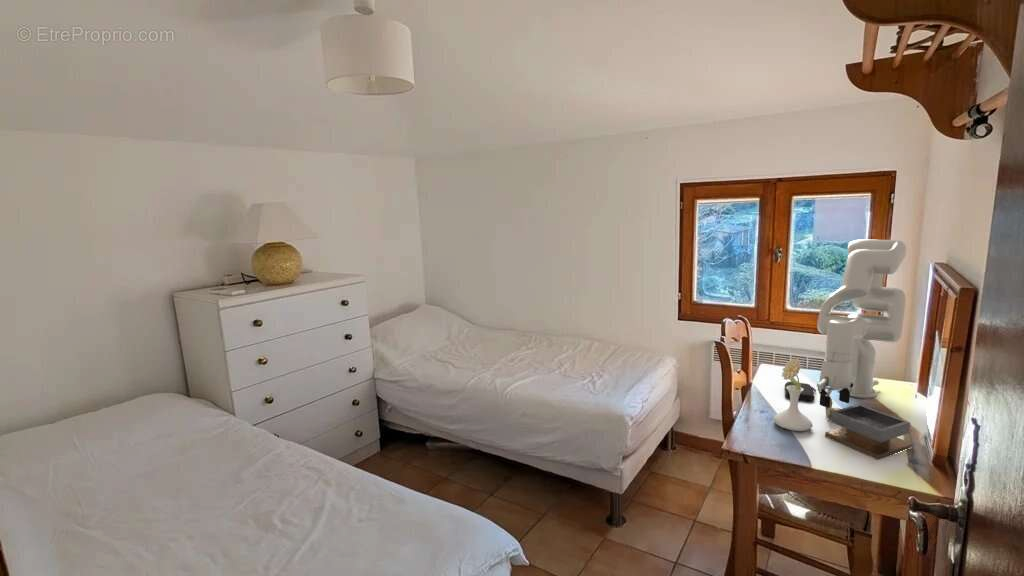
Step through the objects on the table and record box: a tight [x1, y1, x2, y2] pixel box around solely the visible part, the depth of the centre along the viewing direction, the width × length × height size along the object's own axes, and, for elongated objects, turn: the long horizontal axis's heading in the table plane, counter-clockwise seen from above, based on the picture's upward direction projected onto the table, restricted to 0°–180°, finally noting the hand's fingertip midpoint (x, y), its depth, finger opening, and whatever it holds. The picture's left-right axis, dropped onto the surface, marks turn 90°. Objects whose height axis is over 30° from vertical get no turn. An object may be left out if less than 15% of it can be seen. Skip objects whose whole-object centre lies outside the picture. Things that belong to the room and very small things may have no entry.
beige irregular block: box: [825, 396, 841, 422], centre depth 165 cm, size 9×6×10 cm
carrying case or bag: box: [784, 381, 817, 402], centre depth 187 cm, size 11×3×15 cm
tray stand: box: [824, 404, 914, 461], centre depth 149 cm, size 16×16×8 cm
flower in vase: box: [773, 358, 814, 432], centre depth 158 cm, size 13×11×25 cm
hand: (834, 404), depth 164 cm, fingers open, 9 cm apart
